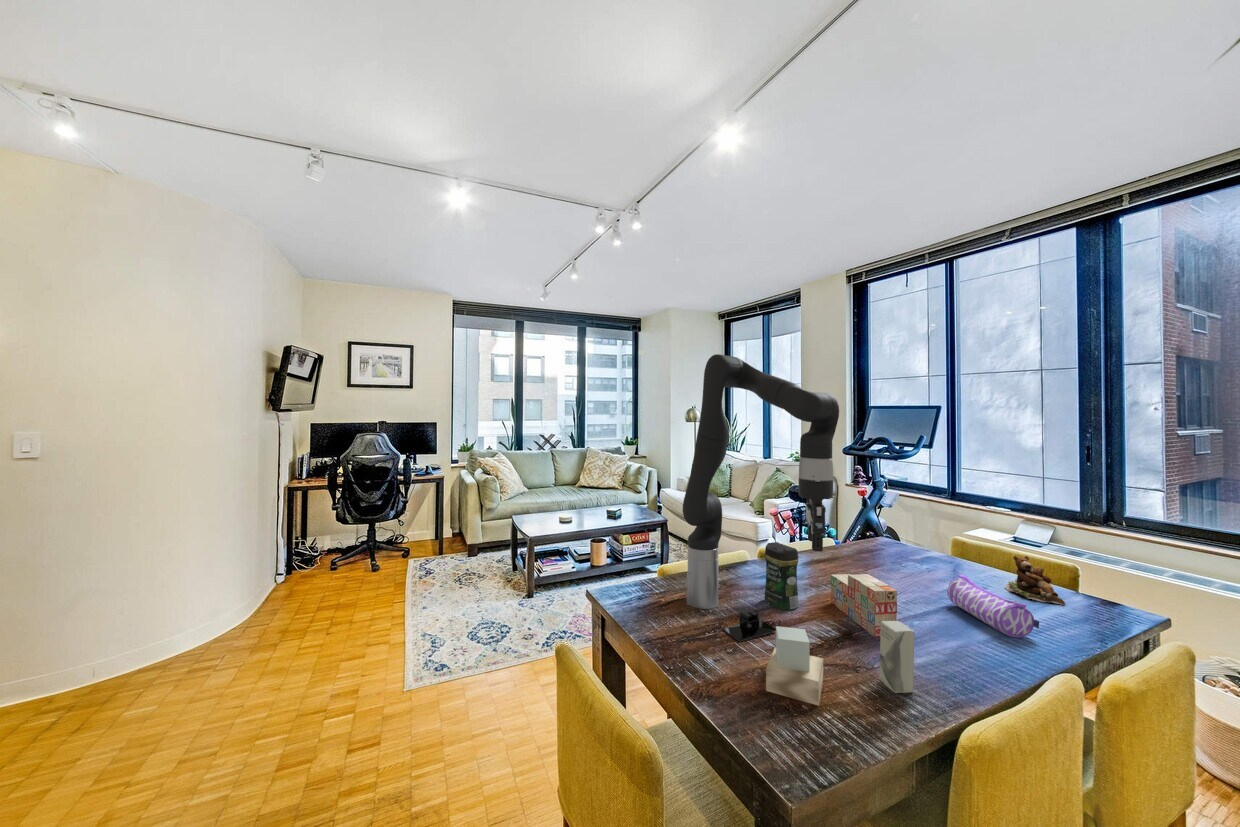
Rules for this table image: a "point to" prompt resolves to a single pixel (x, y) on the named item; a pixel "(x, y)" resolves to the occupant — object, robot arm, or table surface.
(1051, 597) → the bear figurine
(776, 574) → the coffee jar
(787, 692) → the oak block
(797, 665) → the sage cube
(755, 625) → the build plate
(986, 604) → the pencil case
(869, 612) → the stack of blocks
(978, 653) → the table surface
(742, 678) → the table surface
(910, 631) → the box
